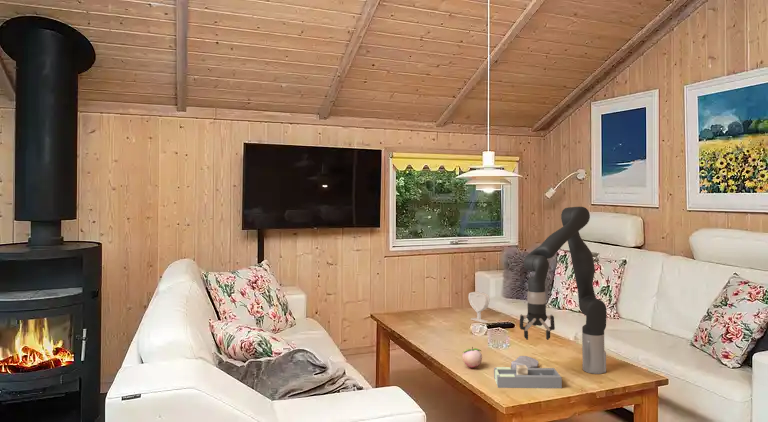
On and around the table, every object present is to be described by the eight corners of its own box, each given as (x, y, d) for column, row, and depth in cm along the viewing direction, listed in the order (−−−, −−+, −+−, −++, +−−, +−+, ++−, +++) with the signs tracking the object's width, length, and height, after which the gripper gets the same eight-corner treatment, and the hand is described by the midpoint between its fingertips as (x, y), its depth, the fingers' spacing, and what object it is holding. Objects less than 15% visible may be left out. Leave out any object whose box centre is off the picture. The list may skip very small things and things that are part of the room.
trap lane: (554, 378, 220) (554, 367, 220) (561, 388, 208) (561, 376, 208) (494, 377, 222) (494, 367, 222) (498, 387, 210) (497, 376, 210)
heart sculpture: (467, 318, 330) (467, 291, 330) (473, 317, 333) (472, 290, 333) (485, 323, 318) (484, 294, 317) (490, 321, 320) (490, 293, 320)
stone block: (539, 370, 236) (519, 361, 242) (541, 360, 235) (521, 352, 241) (529, 378, 227) (509, 369, 233) (531, 368, 226) (510, 360, 232)
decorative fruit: (469, 372, 229) (469, 350, 229) (459, 367, 237) (459, 346, 236) (486, 369, 233) (486, 348, 233) (476, 364, 240) (476, 343, 240)
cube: (525, 374, 217) (525, 365, 217) (527, 377, 213) (527, 368, 213) (516, 374, 217) (516, 365, 217) (518, 377, 213) (518, 368, 213)
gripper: (552, 299, 218) (552, 337, 218) (518, 299, 219) (518, 336, 220) (555, 303, 210) (556, 342, 211) (520, 303, 212) (521, 341, 212)
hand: (537, 339), depth 215 cm, fingers open, 8 cm apart
